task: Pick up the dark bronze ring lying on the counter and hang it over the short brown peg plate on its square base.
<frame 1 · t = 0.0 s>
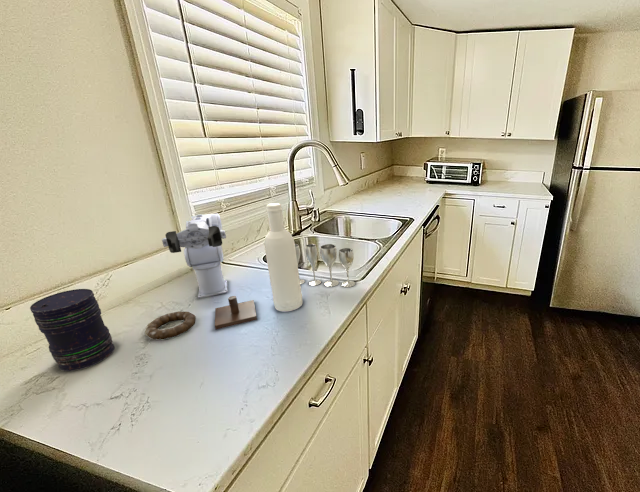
hand: (192, 244, 81), 22 cm above the worktop, tool horizontal, fingers open, 7 cm apart
goblet set: (314, 283, 109), on the worktop
bottle: (289, 305, 95), on the worktop
brown peg plate: (236, 315, 90), on the worktop
ring: (171, 324, 84), point 1 cm above the worktop
storage jar: (88, 357, 75), on the worktop
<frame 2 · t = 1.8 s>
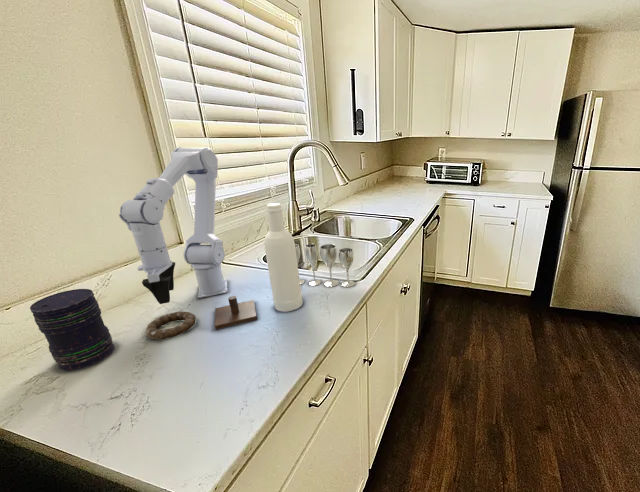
hand: (167, 296, 85), 8 cm above the worktop, tool pointing down, fingers open, 7 cm apart
nothing on the worktop moved.
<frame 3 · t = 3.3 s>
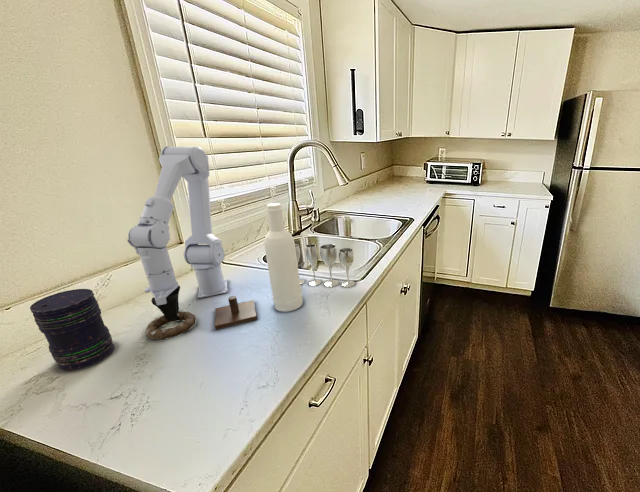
hand: (173, 316, 88), 1 cm above the worktop, tool pointing down, fingers closed on ring, 2 cm apart
ring: (171, 324, 84), point 1 cm above the worktop, touching gripper
everything else where it was.
when the fingers open (3 cm above the worktop, at t = 7.7 s): ring stays where it is, resting on brown peg plate.
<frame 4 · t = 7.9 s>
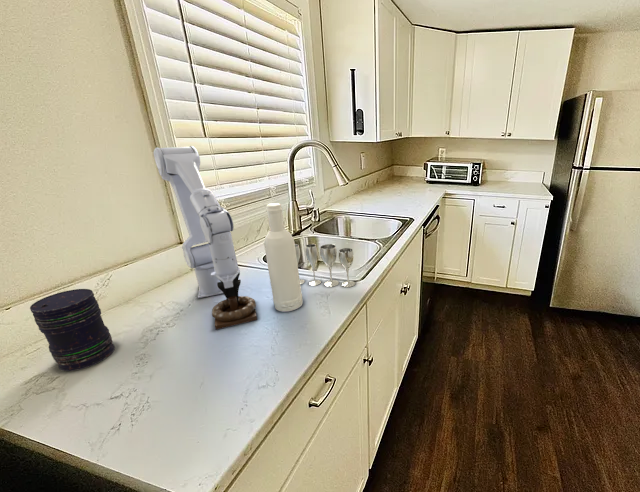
hand: (233, 300, 93), 3 cm above the worktop, tool pointing down, fingers open, 4 cm apart
ring: (234, 308, 89), point 2 cm above the worktop, touching brown peg plate
everything else where it was.
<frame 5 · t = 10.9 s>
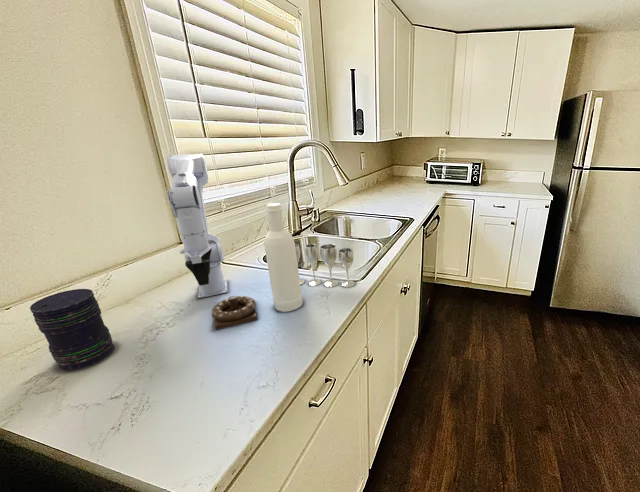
hand: (205, 279, 90), 9 cm above the worktop, tool pointing down, fingers open, 7 cm apart
nothing on the worktop moved.
at the end: ring 0.1 cm from the brown peg plate (horizontally); ring point 2.4 cm above the worktop; the gripper is holding nothing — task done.
